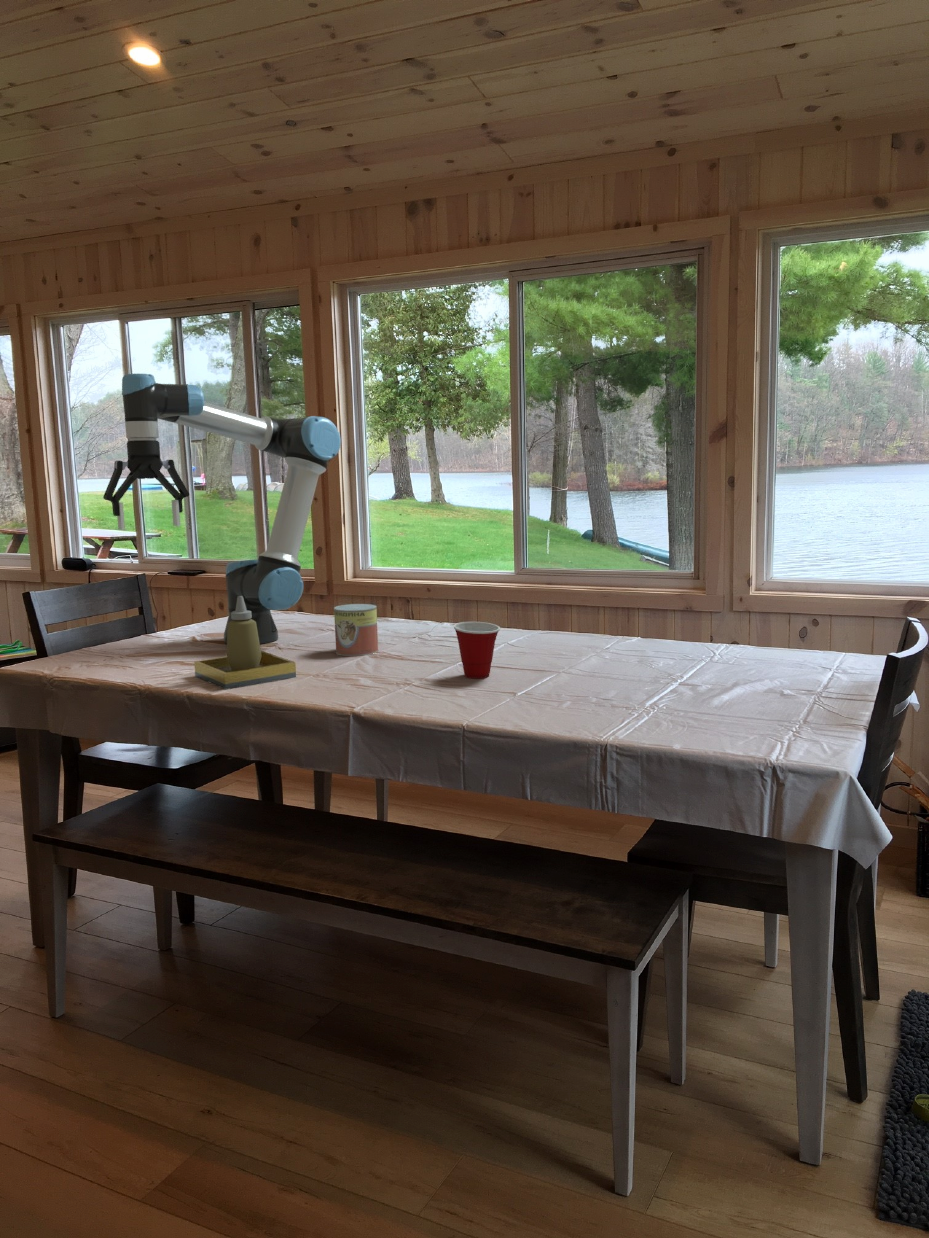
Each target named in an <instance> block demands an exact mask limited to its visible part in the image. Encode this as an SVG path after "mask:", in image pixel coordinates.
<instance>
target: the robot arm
mask: <svg viewBox="0 0 929 1238" xmlns="http://www.w3.org/2000/svg"><path fill="white" fill-rule="evenodd" d="M121 395H122V403H123V411H124V412H123V413H124V425H125V427H124V428H125V438H127V439H128V440H127V442H126V451H127V461H122V460H115V461H114V467H113V472H112V473H111V474H112V475H111V477H110V480H109V482H108V485H107V486H106V490H105V491H104V494H103V500H106V501H109V502H111V505H112V506H111V507H112V508H111V509H112V514H113V517H117V528H118V529H117V530H118V531H119V530H121V531H125V530H126V523H125V512H124V502H122V501H121V500H122V498H123V497H124V495H125V494H126V493H127V492H128V490H129V489H130V487H131V486H132V484H133V483H134V482H135V481H136V480H137V479H138V480H145V479H147V480H148V479H149V480H150V479H155V480H157V481H158V482H159V483H160V484H161V485H162V487H163V488H164V489H165V490H166V491H167V492H168V493H169V494H170V495H171V497H173V498H174V499H171V509H172V511H171V513H172V524H173V525H172V526H173V527H181V518H180V517H181V516H180V515H181V513H183V509H184V508H183V499H184V498H188V497H189V496H190V493H189V491H188V489H187V487H186V484H185V483H184V482H183V480H182V478H181V475H179V473H178V471H177V469H176V467H175V461H174V460H173V459H166V460H162V459H161V447H160V445H161V444H160V441H159V440H157V439H159V438H160V434H159V424H158V423H159V422H158V421H159V420H162V421H166V422H168V423H169V422H170V423H174V424H176V425H177V424H178V425H181V426H183V427H184V426H185V427H187V428H188V427H189V428H192V429H196V430H200V431H202V432H207V433H210V434H214V435H216V436H217V435H218V436H222V437H225V438H228V439H232V440H235V441H239V442H242V443H246V444H250V445H254V447H255V448H256V449H257V450H258V451H262V452H265V453H269V454H270V455H275V456H277V457H281V458H284V461H285V463H286V465H287V470H286V476H285V479H284V481H283V486H282V488H281V489H282V491H281V493H280V498H279V502H278V506H277V508H276V513H275V516H274V520H273V525H272V528H271V532H270V534H269V535H270V536H269V540H268V543H267V547H266V550H265V551H263V552H262V553H260V554H258V555H259V556H258V558H256V559H254V558H253V559H246V560H237V561H231V562H228V563H227V564H226V566H225V579H226V581H225V582H226V592H227V593H226V594H227V607H228V616H227V620H226V625H225V629H224V632H223V642H224V643H225V644H227V629H228V623H229V622H230V621H232V619H231V612H233V611H235V610H236V604H237V597H238V596H243V599H244V602H245V606H246V609H247V610H248V611H251V614H252V618H251V619H252V620H254V621H255V622H256V625H257V631H258V637H259V643H260V645H261V644H267V643H272V642H275V641H277V640H279V631H278V628H277V626H276V625H277V624H276V623H275V621H274V618H273V616H272V615H273V614H272V612H271V611H285V610H288V609H291V608H292V607H293V606H295V605H296V604H297V603H298V602H299V600H300V599H301V597H302V595H303V592H304V580H302V576H301V574H300V572H301V568H302V565H301V563H300V561H299V560H298V557H299V553H300V549H301V546H302V542H303V539H304V535H305V530H306V526H307V523H308V519H309V515H310V512H311V508H312V505H313V504H312V503H313V499H314V497H315V496H314V495H315V492H316V488H317V485H318V480H319V476H320V475H322V474H323V473H325V472H326V471H327V467H328V465H329V460H331V459H333V458H334V457H336V456H337V455H338V453H339V452H340V450H341V449H340V448H341V442H342V441H341V435H340V432H339V430H338V428H337V426H336V425H335V424H334V422H332V420H330V419H329V418H327V417H324V416H317V415H311V416H307V417H300V418H299V417H296V418H274V417H270V416H267V415H265V416H262V417H258V416H254V415H250V414H247V413H244V412H241V411H238V410H234V409H231V408H227V407H223V406H221V405H220V406H219V405H217V404H213V403H210V402H207V401H205V395H204V391H203V390H202V388H201V387H200V386H198V385H196V384H195V385H194V384H189V383H187V384H184V383H183V384H182V383H181V384H175V383H174V384H173V383H158V382H156V379H155V377H154V375H153V374H150V373H127V374H124V375H123V376H122V379H121ZM163 467H164V469H165V470H167V472H168V474H169V476H170V478H171V479H172V481H173V483H174V486H175V487H176V488H175V487H174V486H173V484H172V483H171V482H170V481H169V480H168V479H167V478H166V476H165V474H163V473H162V472H161V470H162V468H163ZM126 468H127V469H128V471H129V473H128V475H127V476H126V478H125V479H124V481H123V482H122V483H121V485H120V486H119V488H118V489H117V490H116V488H117V486H118V484H119V481H120V478H121V475H122V474H123V471H124V470H125V469H126ZM120 501H121V502H120Z"/></svg>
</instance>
